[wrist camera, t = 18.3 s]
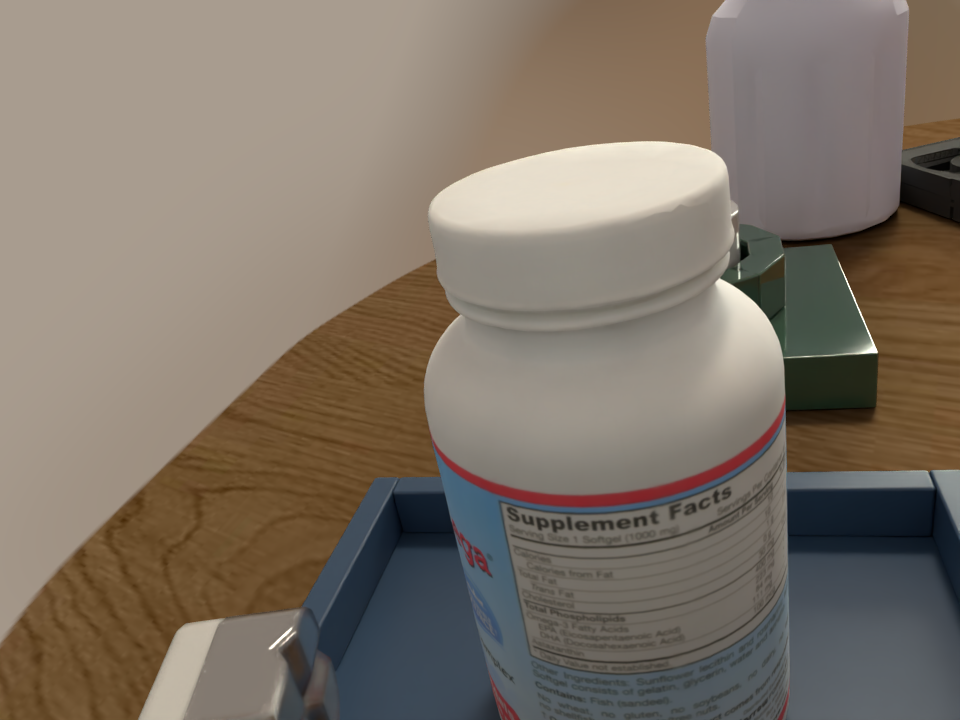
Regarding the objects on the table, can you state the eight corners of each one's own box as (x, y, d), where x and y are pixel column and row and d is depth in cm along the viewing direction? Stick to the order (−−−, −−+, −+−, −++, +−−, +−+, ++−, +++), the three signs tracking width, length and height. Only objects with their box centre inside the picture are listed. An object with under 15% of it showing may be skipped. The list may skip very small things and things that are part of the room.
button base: (515, 420, 29) (497, 321, 28) (556, 307, 38) (543, 226, 36) (876, 408, 26) (881, 294, 24) (831, 287, 34) (832, 197, 33)
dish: (187, 934, 15) (149, 868, 14) (390, 529, 25) (374, 476, 24) (1210, 1113, 10) (1247, 1034, 10) (959, 533, 20) (965, 468, 19)
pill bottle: (519, 592, 21) (428, 157, 16) (770, 590, 19) (755, 110, 14) (475, 818, 15) (318, 271, 10) (816, 841, 14) (818, 214, 9)
